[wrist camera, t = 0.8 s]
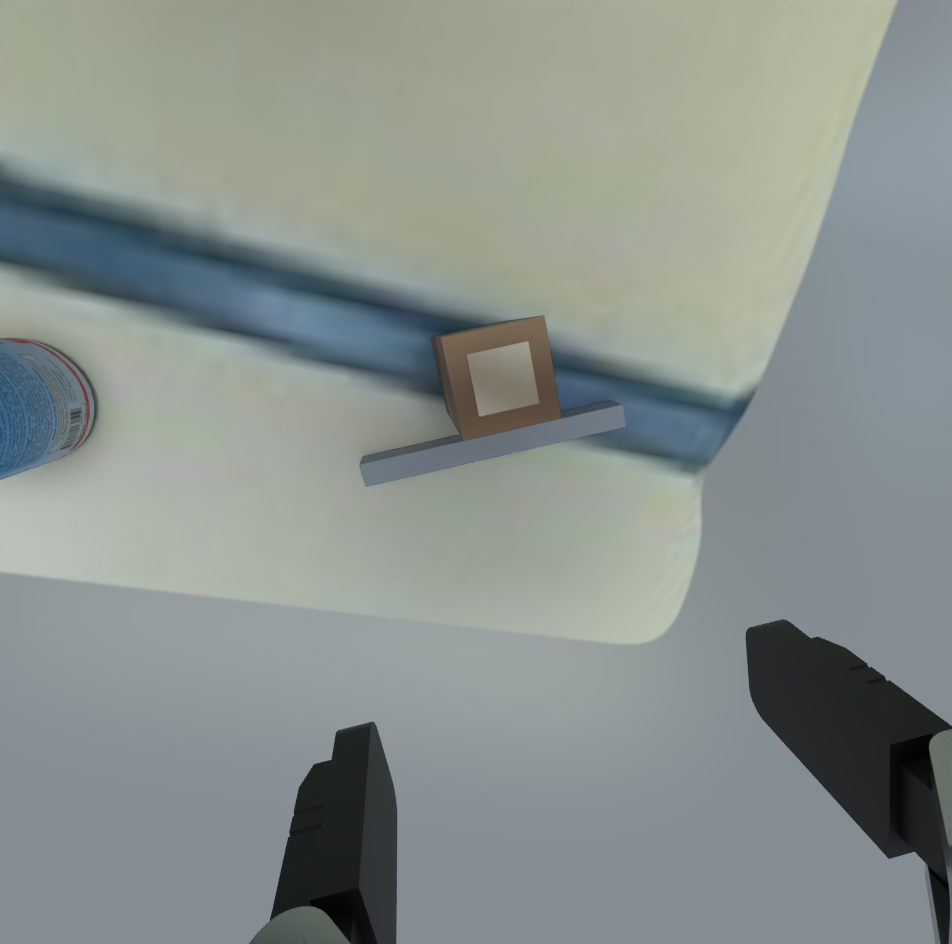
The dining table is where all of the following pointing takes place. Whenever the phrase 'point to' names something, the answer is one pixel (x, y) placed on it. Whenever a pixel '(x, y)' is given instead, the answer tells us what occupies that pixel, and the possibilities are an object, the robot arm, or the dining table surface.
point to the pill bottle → (39, 406)
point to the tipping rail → (489, 444)
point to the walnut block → (497, 376)
